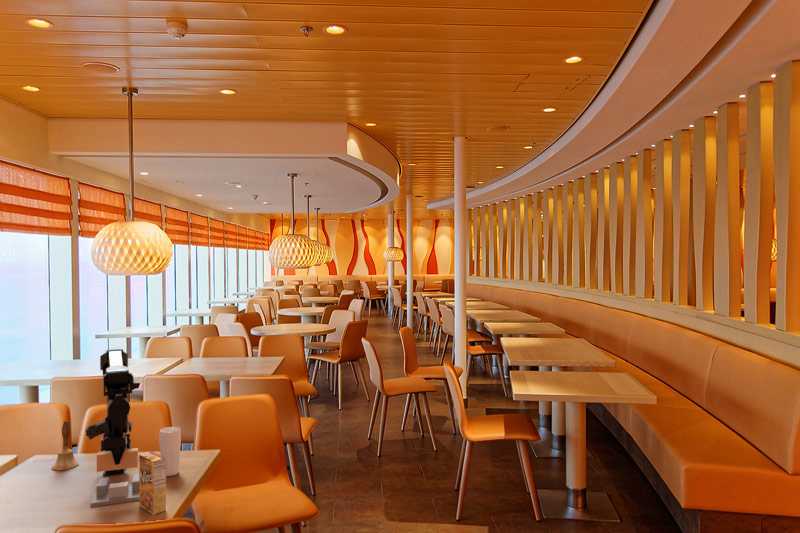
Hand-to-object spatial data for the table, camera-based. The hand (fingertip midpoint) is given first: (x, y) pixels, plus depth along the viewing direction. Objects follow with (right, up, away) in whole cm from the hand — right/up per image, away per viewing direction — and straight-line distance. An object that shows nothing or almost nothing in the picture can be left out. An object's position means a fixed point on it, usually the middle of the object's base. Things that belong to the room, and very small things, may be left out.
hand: (118, 462), depth 173 cm
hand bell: (-32, -11, +28) cm, 44 cm away
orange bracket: (-1, -2, +2) cm, 3 cm away
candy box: (+14, -11, -8) cm, 19 cm away
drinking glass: (+8, -11, +20) cm, 24 cm away
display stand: (0, -11, +1) cm, 11 cm away
